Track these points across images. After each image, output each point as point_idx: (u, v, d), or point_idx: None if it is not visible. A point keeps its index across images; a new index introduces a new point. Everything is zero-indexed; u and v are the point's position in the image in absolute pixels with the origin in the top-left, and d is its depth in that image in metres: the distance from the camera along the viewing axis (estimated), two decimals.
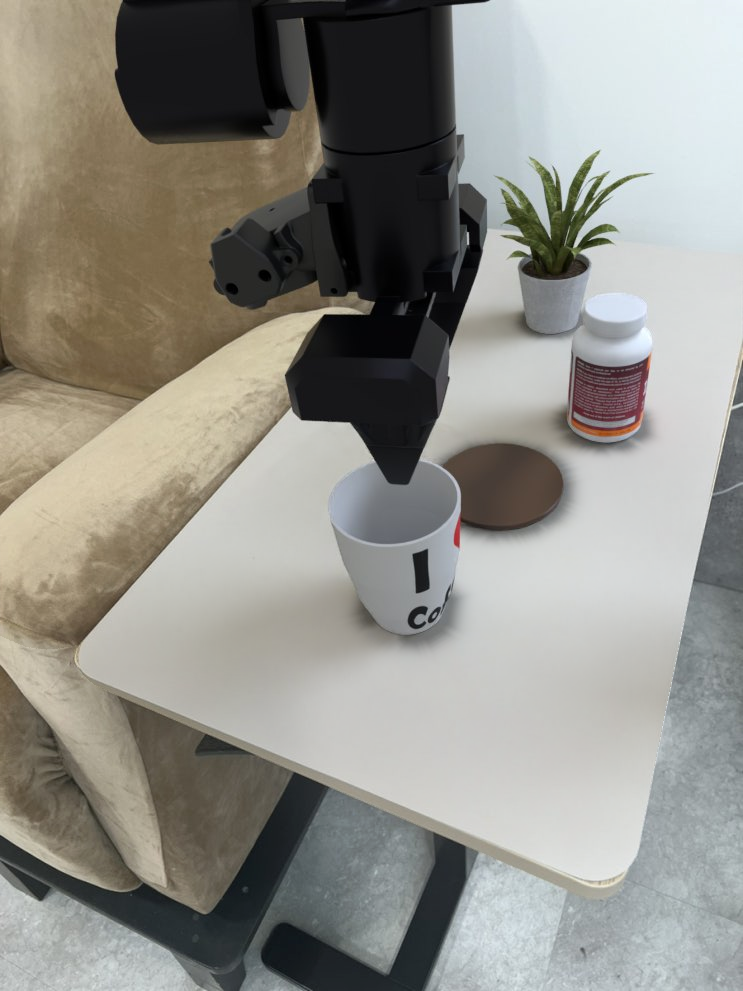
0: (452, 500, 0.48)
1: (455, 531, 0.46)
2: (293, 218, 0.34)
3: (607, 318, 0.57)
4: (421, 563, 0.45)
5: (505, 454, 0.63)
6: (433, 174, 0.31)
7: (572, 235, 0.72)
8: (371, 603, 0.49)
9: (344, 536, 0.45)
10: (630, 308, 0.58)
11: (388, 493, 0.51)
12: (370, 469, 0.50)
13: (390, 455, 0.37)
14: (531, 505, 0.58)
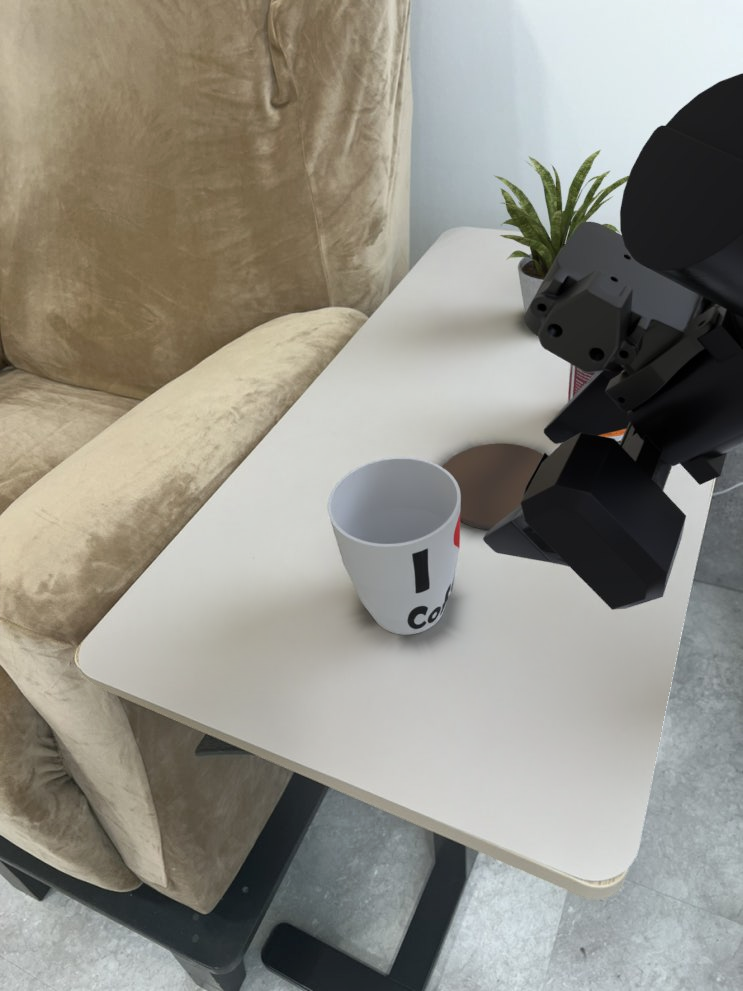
0: (452, 500, 0.48)
1: (455, 531, 0.46)
2: (660, 320, 0.29)
3: None
4: (421, 563, 0.45)
5: (505, 454, 0.63)
6: None
7: None
8: (371, 603, 0.49)
9: (344, 536, 0.45)
10: None
11: (388, 493, 0.51)
12: (370, 469, 0.50)
13: (518, 540, 0.36)
14: None
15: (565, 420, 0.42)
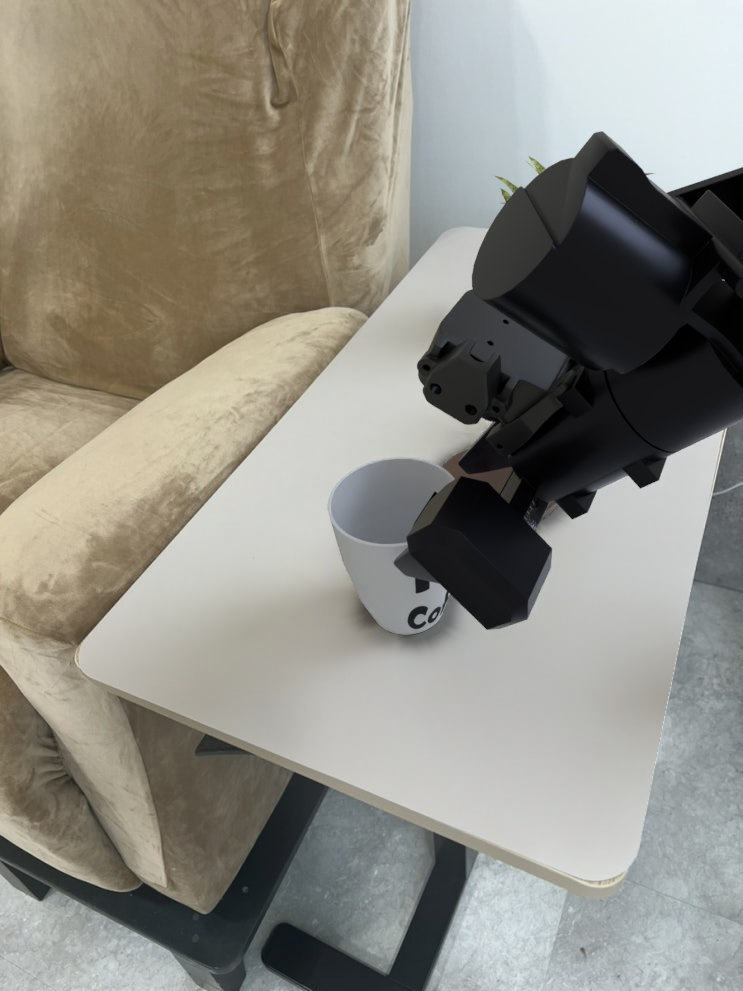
0: None
1: None
2: (527, 380, 0.34)
3: None
4: None
5: None
6: (650, 470, 0.33)
7: None
8: (371, 603, 0.49)
9: (344, 536, 0.45)
10: None
11: (388, 493, 0.51)
12: (370, 469, 0.50)
13: (420, 565, 0.40)
14: None
15: (475, 454, 0.47)
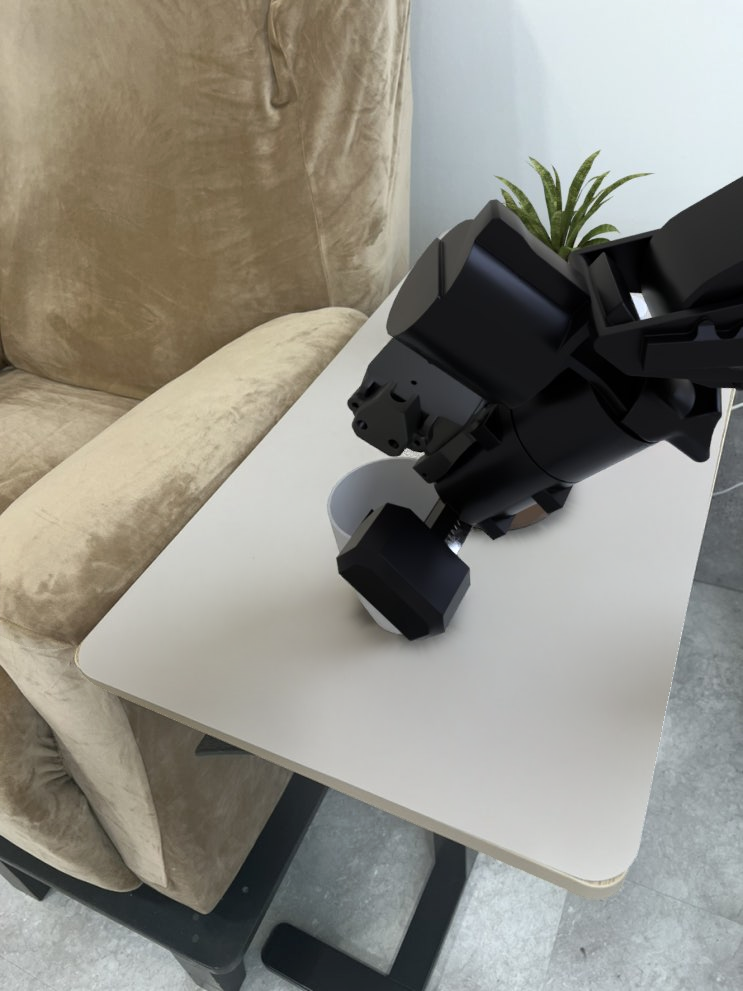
0: None
1: None
2: (445, 417, 0.38)
3: None
4: None
5: None
6: (554, 498, 0.37)
7: (572, 235, 0.72)
8: None
9: (343, 536, 0.45)
10: None
11: (387, 493, 0.51)
12: (369, 469, 0.50)
13: None
14: None
15: None
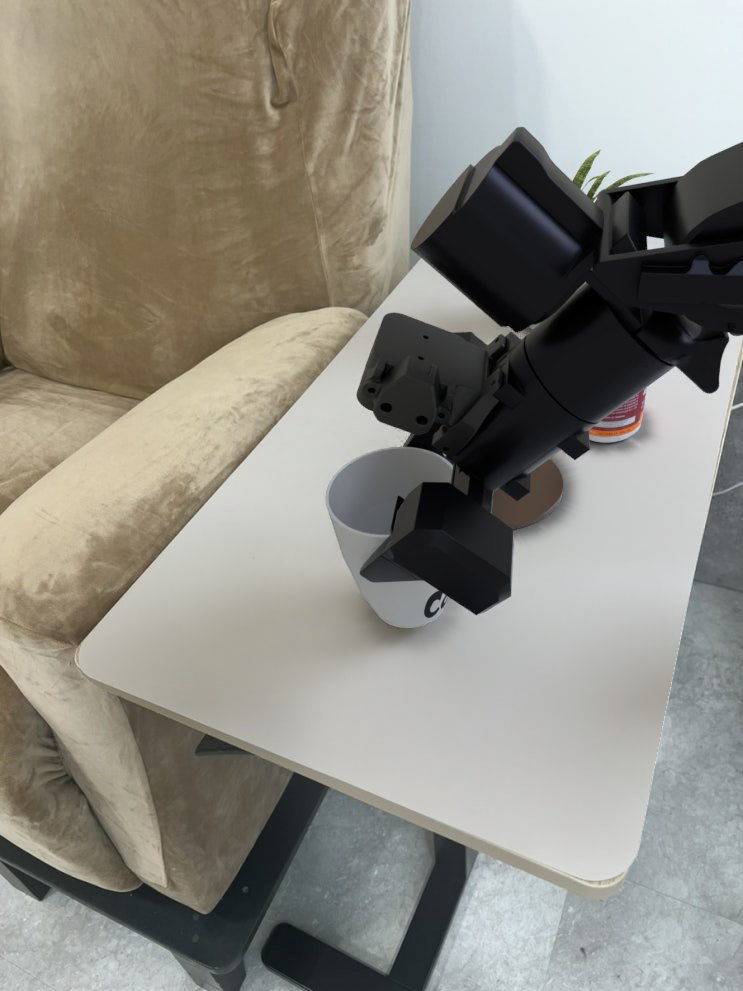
0: (443, 480, 0.48)
1: None
2: (462, 385, 0.38)
3: None
4: None
5: None
6: (581, 442, 0.38)
7: None
8: (386, 601, 0.47)
9: (359, 535, 0.43)
10: None
11: (371, 489, 0.50)
12: (353, 468, 0.48)
13: (389, 568, 0.43)
14: (531, 505, 0.58)
15: None
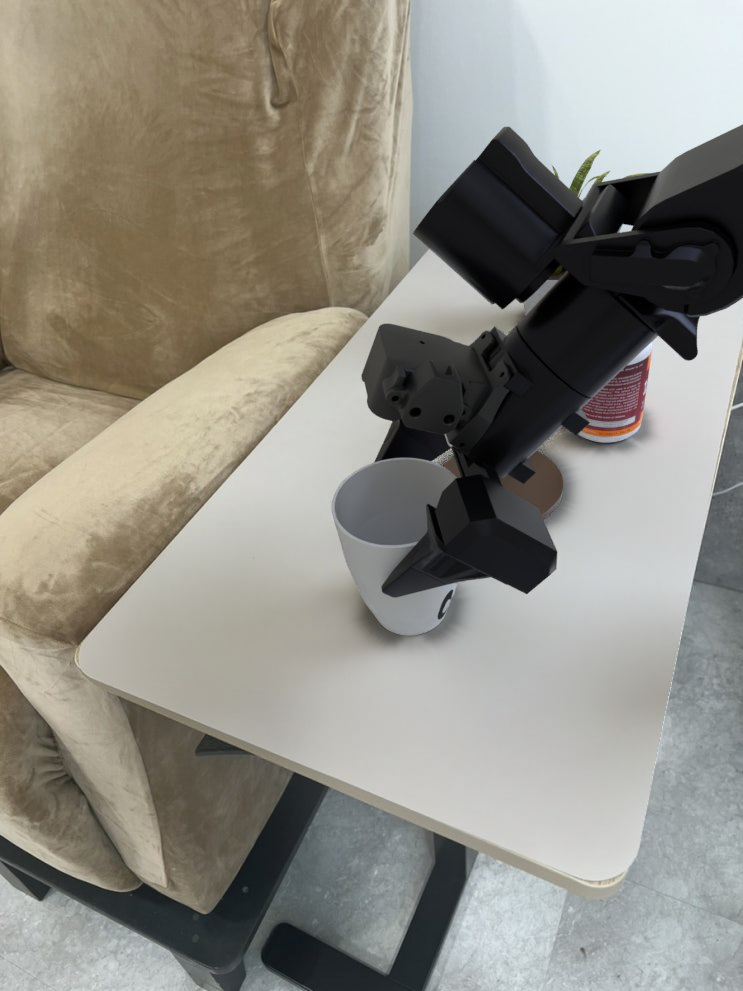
0: (434, 483, 0.49)
1: None
2: (473, 381, 0.39)
3: None
4: None
5: None
6: (582, 417, 0.41)
7: None
8: (405, 611, 0.48)
9: (384, 549, 0.44)
10: None
11: (362, 506, 0.50)
12: (346, 487, 0.49)
13: (417, 578, 0.43)
14: None
15: None
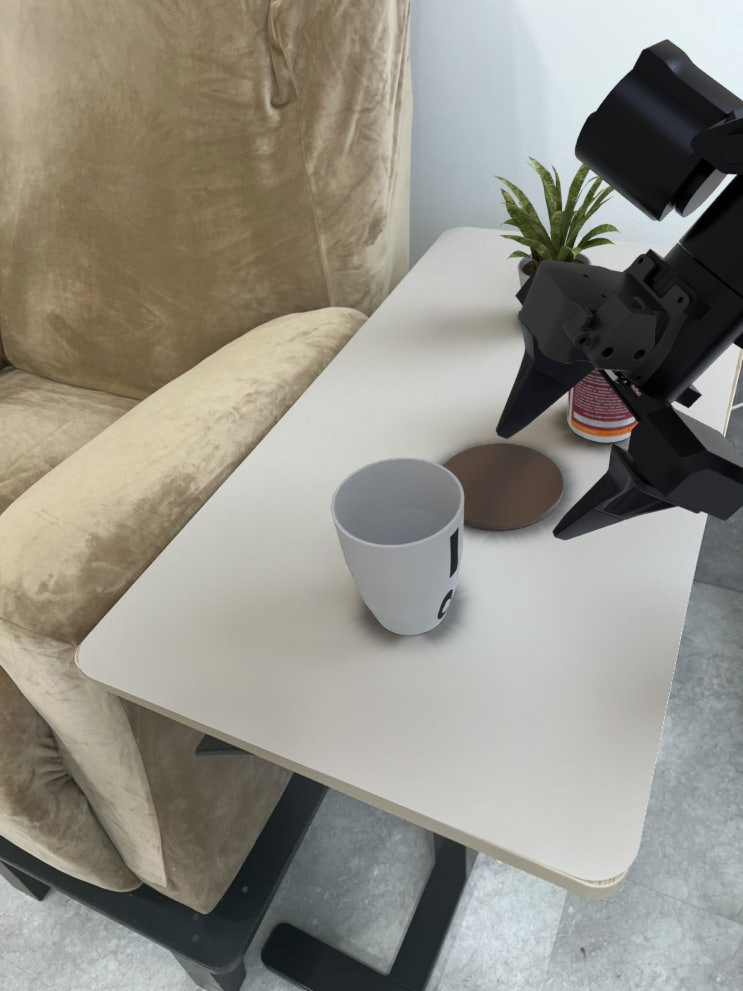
0: (433, 483, 0.49)
1: None
2: None
3: None
4: (454, 544, 0.46)
5: (505, 454, 0.63)
6: None
7: (572, 235, 0.72)
8: (405, 610, 0.48)
9: (384, 549, 0.44)
10: None
11: (361, 506, 0.50)
12: (346, 487, 0.49)
13: (595, 519, 0.43)
14: (531, 505, 0.58)
15: (514, 416, 0.50)
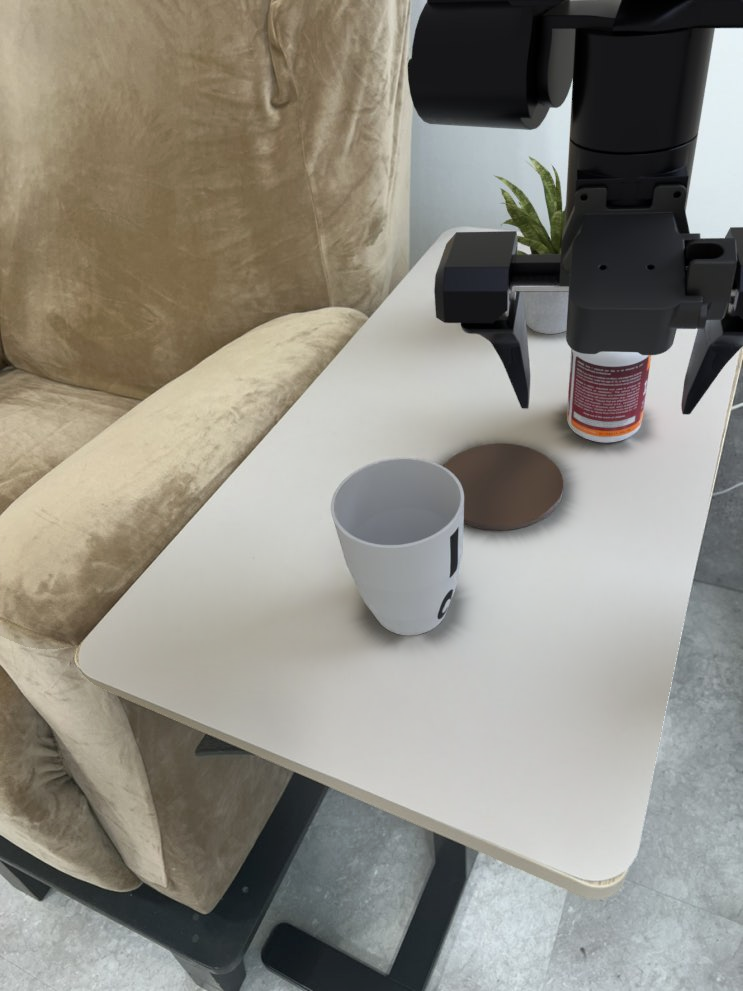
0: (433, 483, 0.49)
1: None
2: (673, 228, 0.34)
3: None
4: (454, 544, 0.46)
5: (505, 454, 0.63)
6: None
7: None
8: (405, 610, 0.48)
9: (384, 549, 0.44)
10: None
11: (361, 506, 0.50)
12: (346, 487, 0.49)
13: None
14: (531, 505, 0.58)
15: (528, 385, 0.46)
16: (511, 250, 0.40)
